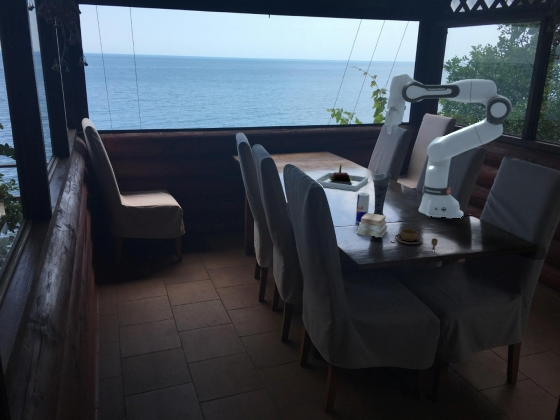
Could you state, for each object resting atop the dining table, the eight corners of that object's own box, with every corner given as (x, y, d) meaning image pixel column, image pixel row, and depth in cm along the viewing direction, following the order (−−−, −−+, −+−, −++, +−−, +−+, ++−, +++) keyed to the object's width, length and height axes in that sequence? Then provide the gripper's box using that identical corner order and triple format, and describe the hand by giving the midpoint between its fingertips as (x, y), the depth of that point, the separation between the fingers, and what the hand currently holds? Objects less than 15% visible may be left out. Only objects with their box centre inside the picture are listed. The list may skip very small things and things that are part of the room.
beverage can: (359, 220, 241) (361, 191, 236) (369, 223, 237) (371, 193, 233) (353, 223, 237) (355, 193, 232) (363, 226, 233) (365, 195, 229)
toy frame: (368, 181, 319) (368, 177, 319) (355, 191, 296) (356, 186, 295) (328, 176, 331) (328, 172, 330) (313, 185, 307) (313, 180, 306)
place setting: (424, 237, 222) (426, 224, 220) (438, 253, 203) (440, 240, 201) (386, 236, 222) (387, 224, 220) (396, 253, 203) (398, 240, 201)
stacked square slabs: (386, 230, 228) (388, 215, 225) (381, 237, 218) (382, 222, 216) (363, 226, 232) (364, 211, 230) (357, 233, 222) (358, 218, 220)
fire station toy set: (350, 180, 323) (351, 164, 319) (355, 188, 303) (356, 170, 300) (328, 180, 322) (329, 163, 319) (331, 187, 303) (332, 170, 300)
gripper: (396, 107, 240) (391, 135, 244) (406, 106, 258) (402, 133, 261) (383, 105, 243) (379, 133, 247) (395, 105, 260) (391, 131, 264)
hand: (391, 133), depth 254 cm, fingers open, 8 cm apart
